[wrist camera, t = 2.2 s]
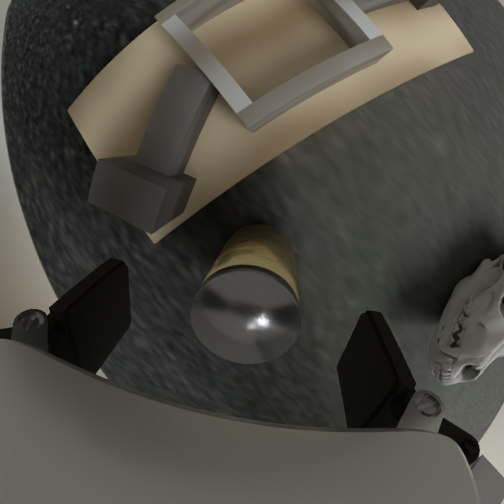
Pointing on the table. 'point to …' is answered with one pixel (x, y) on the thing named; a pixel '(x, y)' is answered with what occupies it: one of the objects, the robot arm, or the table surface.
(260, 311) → the gold cylinder
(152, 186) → the stand
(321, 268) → the table surface
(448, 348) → the skull
